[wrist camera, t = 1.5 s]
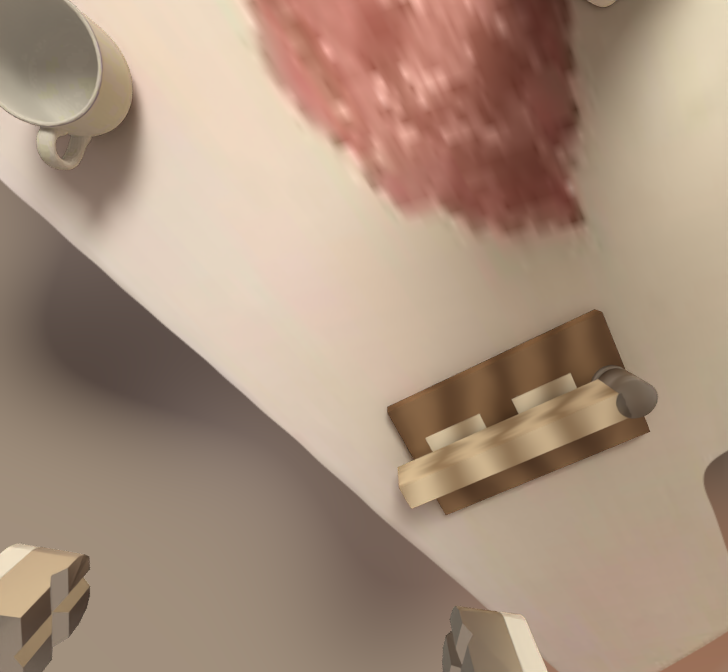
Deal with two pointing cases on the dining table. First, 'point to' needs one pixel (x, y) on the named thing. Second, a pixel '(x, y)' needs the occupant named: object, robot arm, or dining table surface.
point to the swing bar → (527, 435)
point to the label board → (515, 403)
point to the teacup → (61, 76)
